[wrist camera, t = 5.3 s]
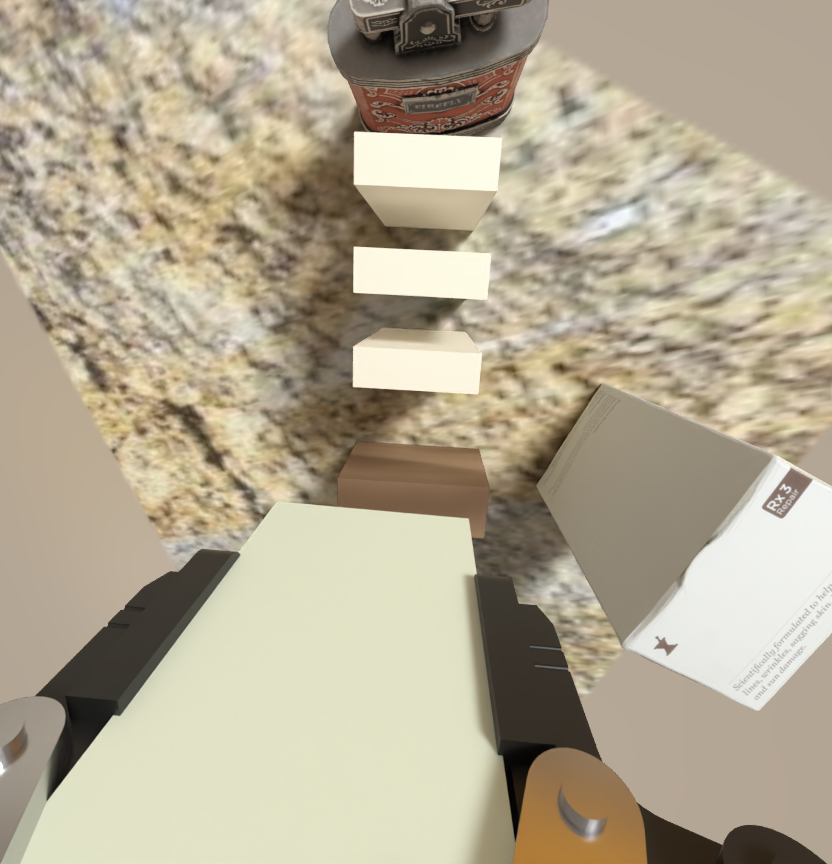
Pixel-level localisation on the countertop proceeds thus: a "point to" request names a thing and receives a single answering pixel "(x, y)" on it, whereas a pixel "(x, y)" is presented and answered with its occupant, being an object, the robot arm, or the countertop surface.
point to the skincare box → (695, 544)
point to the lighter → (434, 60)
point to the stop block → (416, 481)
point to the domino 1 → (306, 713)
